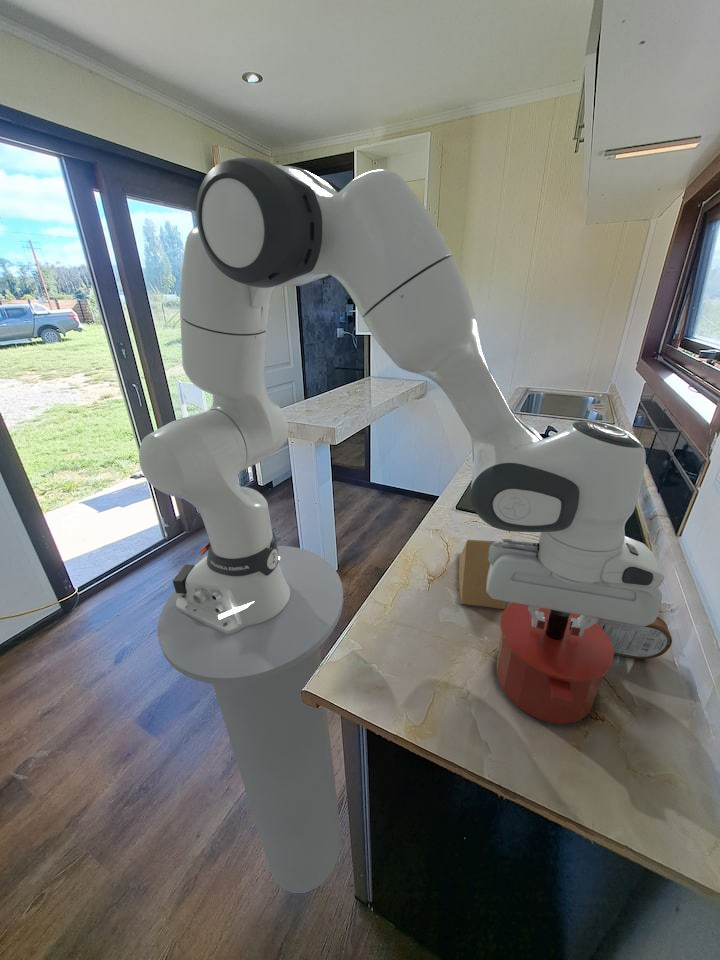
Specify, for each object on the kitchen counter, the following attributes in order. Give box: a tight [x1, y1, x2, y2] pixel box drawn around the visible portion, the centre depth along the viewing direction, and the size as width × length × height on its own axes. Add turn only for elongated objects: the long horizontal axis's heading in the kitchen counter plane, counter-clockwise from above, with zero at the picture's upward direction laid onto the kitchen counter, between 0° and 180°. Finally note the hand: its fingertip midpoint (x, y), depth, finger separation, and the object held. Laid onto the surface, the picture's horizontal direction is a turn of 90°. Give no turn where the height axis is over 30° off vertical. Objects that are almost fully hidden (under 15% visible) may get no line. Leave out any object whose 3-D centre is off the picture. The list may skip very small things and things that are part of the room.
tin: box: [597, 615, 673, 660], centre depth 62 cm, size 15×3×8 cm, turn 73°
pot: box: [495, 633, 604, 725], centre depth 57 cm, size 14×19×10 cm
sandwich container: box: [458, 539, 507, 610], centre depth 77 cm, size 9×15×15 cm, turn 168°
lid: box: [499, 602, 615, 682], centre depth 54 cm, size 15×15×6 cm
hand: (555, 628), depth 54 cm, fingers open, 3 cm apart
